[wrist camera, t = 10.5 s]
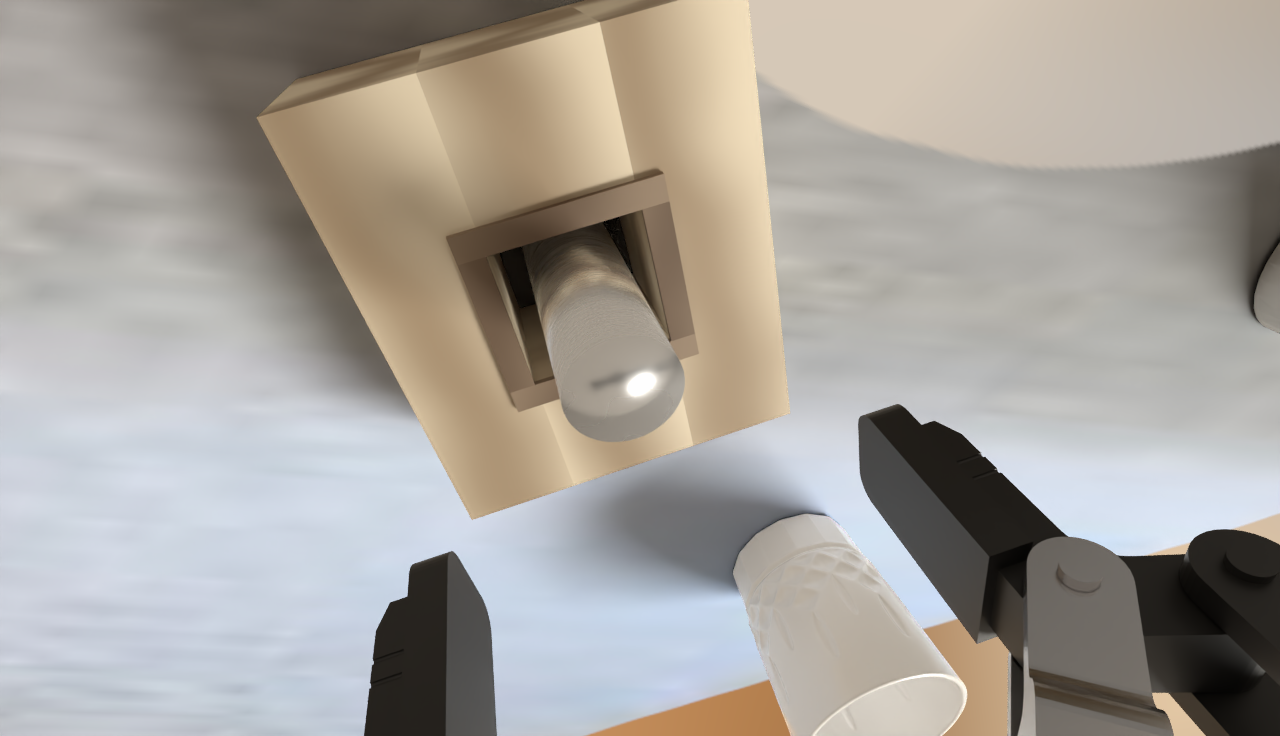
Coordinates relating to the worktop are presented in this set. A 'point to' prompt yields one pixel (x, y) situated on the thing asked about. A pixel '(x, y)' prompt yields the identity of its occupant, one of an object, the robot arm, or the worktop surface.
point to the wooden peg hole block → (547, 221)
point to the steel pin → (602, 337)
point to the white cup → (840, 637)
